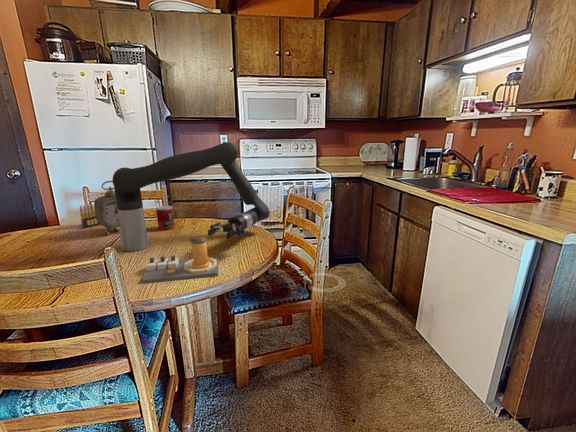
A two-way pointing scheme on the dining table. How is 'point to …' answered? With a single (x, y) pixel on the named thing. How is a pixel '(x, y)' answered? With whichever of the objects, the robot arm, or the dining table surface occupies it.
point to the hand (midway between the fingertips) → (217, 234)
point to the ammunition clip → (88, 217)
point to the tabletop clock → (107, 210)
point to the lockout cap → (199, 253)
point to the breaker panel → (177, 269)
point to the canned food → (165, 217)
